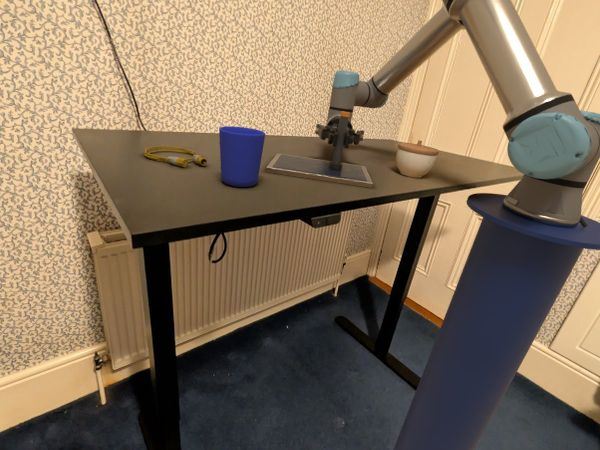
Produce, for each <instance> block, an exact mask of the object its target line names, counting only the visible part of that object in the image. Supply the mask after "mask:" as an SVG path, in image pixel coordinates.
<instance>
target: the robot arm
mask: <svg viewBox="0 0 600 450" xmlns="http://www.w3.org/2000/svg"><path fill="white" fill-rule="evenodd" d="M441 1H442V3H443V6H442V7H441V8H440V9H439V10H438V11H437V12H436V13H435V14H434V15H433V16H432V17H431V18H430V19H429V20H428V21H426V23H425V24H424V25H423V26H422V27H421V28H420V29H419V30H418V31H417V32H416V33H414V35H413V36H412V37H411V38H410V39H409V40H408V41H407V42H406V43H405V44H404V45H403V46H402V47H401V48H400V49H398V51H397V52H396V53H395V54H394V55H393V56H392V57H391V58H389V60H388V61H387V62H385V64H384V65H383V66H382V67H381V68H379V70H378V71H377V72H375V74H374V75H373V76H371V77H370V79H369V80H367V81H364V80H360V74H359V72H356V71H349V70H341V69H340V70H339V69H338V70H337V71H335V73H334V77H333V80H332V84H331V86H332V87H331V94H330V100H329V105H328V112H327V116H326V117H327V118H326V121H325V122H326V123H325V125H323V124H320V123H316V124H315V131H314V134H315V135H318V137H319V138H320V140H322V141H325V140H326V139H327V145H332V147H333V148H335V147H336V145H337V139H338V126H339V120H340V113H341V111H344V112H349V113H350V115H349V119H348V125H347V130H346V135H345V140H344V147H343V149H347V150H348V149H349V146H350V145H355V146H358V145H359V144H360V142H363V141H364V136H365V131H364V130H363V129H362V130H356V129H354V128H353V124H352V118H353V113H354V108H355V107H359V108H365V109H366V108H367V109H379V108H382V107H384V106H385V105H386V103H387V102H388V99H389V94H390V93H391V92H393V91H394V90H395V89H396V88H398V86H400V85H401V84H402V83H403V82H404V81H406V80H407V78H409V76H411V75H412V74H413V73H414V72H415V71H416V70H417V69H419V68H420V67H421V66H422V65H423V64H424V63H426V62H427V61H428V60H429V59H430V58H431V57H432V56H434V55H435V54H436V53H437V52H438V51H439V50H440V49H441V48H443V47H444V46H445V45H446V44H447V43H448V42H449V41H451V39H453V38H454V37H455V36H456V35H458V33H460V32H461V31H463V30H465V31H466V33H467V35H468V37H469V39H470V42H471V44H472V46H473V48H474V50H475V52H476V54H477V56H478V58H479V61H480V63H481V65H482V67H483V69H484V71H485V73H486V75H487V77H488V79H489V81H490V83H491V86H492V87H493V90H494V92H495V94H496V97H497V98H498V101H499V102H500V104H501V106H502V109H503V110H504V113H505V115H506V118H505V120H504V122H503V125H502V129H503V131H504V134H505V136H506V138H507V156H508V159H509V162H510V163H511V166H513V168H514V169H516V170H517V171H518V172H519V173H521V174H523V176H522V178H521V179H520V180H519V181H518V182H517V184H516V185H514V187H513V188H512V189H511V190H510V192H509V193H508V194H506V195H507V196H506V198H505V199H504V202H503V204H502V207H503V208H504V209H506V210H507V211H509V212H511V213H513V214H515V215H517V216H520V217H522V218H525V219H528V220H531V221H534V222H538V223H542V224H546V225H550V226H556V227H562V228H574V227H577V225H578V223H579V222H580V223H581V225H582V226H583V227H587V226H588V225H587V224H586V223H585V221H584V220H583V218H582V217H581V215H582V207H583V196H584V195H583V193H584V190H585V188H586V186H587V184H588V182H589V181H590V178H591V177H592V175H593V172H594V171H595V168H596V166H597V164H598V162H599V161H600V113H599V112H593V111H587V110H581V109H580V108H579V106H578V104H577V102H576V99H575V98H574V96H573V94H572V93H571V92H565V91H559V90H558V89H557V87H556V85H555V84H554V81H553V80H552V78H551V75H550V74H549V72H548V70H547V68H546V66H545V63H544V62H543V60H542V58H541V56H540V54H539V51H538V50H537V48H536V46H535V45H534V42H533V40H532V38H531V36H530V35H529V33H528V31H527V29H526V27H525V25H524V22H523V21H522V19H521V17H520V15H519V12H518V11H517V9H516V7H515V5H514V3H513V1H512V0H441Z"/></svg>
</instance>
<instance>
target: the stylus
mask: <svg viewBox="0 0 600 450" xmlns="http://www.w3.org/2000/svg"><path fill="white" fill-rule="evenodd" d="M349 115H350V113H349V112H344V111H341V113H340V120H339V126H338V139H337V145H336V147H334V150H333V156H332V160H331V161H332V162H330V164H329V168H331V169H335V170H341V169H342V166H343V164H342V163H343V162H342V158H343V157H342V156H343V152H344V140H345V135H346V130H347V125H348V119H349Z"/></svg>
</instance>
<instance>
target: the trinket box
mask: <svg viewBox="0 0 600 450" xmlns="http://www.w3.org/2000/svg"><path fill="white" fill-rule="evenodd" d="M439 153H440V150H439V149H437V148H435V147H431V146H428V145H424V144H423V140H420V139H419V140H417V143H413V142H411V143H410V142H409V143H408V142H399V143H398V144H397V150H396V153H395V164H396V167H397V169H398V170H399V173H400V174H401V175H403V176H406V177H410V178H414V179H415V178H417V179H421V178H423V177H424V176H426V175H427V174H428V173H430V172H431V171H432V169H433V168H434V166H435V163H436V161H437V158H438V155H439Z"/></svg>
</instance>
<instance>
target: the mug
mask: <svg viewBox="0 0 600 450" xmlns="http://www.w3.org/2000/svg"><path fill="white" fill-rule="evenodd" d="M218 133H219V135H218V136H219V154H220V156H219V157H220V175H221V179H222V182H224V183H225V184H226V185H228V186H231V187H235V188H237V187H238V188H249V187H253V186H255V185H256V184H257V182H258V180H259V177H260V170H261V163H262V162H261V161H262V157H263V152H264V145H265V139H266V132H265V131H263V130H260V129H256V128H251V127H244V126H232V125H231V126H220V127H219V129H218Z"/></svg>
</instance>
